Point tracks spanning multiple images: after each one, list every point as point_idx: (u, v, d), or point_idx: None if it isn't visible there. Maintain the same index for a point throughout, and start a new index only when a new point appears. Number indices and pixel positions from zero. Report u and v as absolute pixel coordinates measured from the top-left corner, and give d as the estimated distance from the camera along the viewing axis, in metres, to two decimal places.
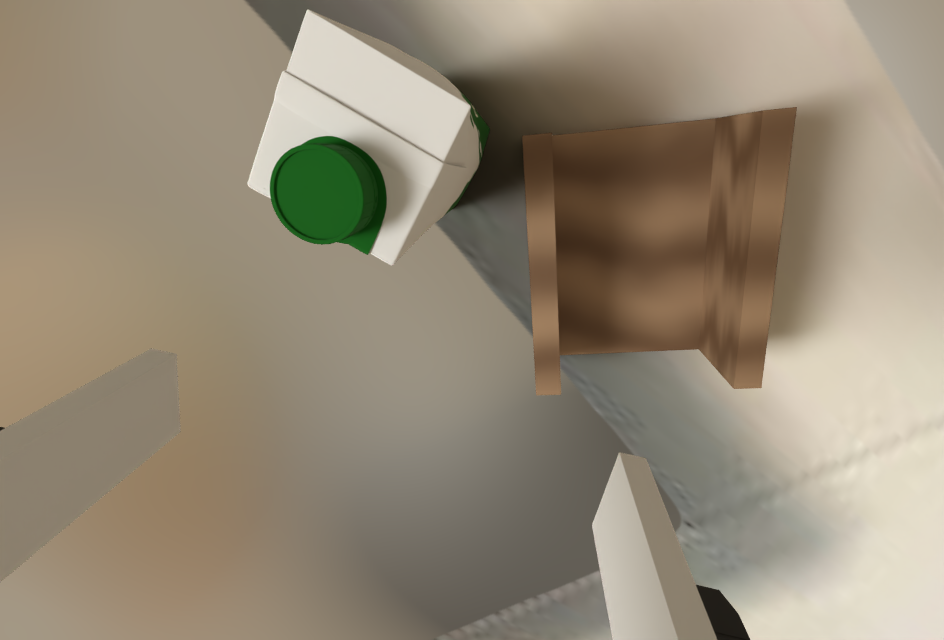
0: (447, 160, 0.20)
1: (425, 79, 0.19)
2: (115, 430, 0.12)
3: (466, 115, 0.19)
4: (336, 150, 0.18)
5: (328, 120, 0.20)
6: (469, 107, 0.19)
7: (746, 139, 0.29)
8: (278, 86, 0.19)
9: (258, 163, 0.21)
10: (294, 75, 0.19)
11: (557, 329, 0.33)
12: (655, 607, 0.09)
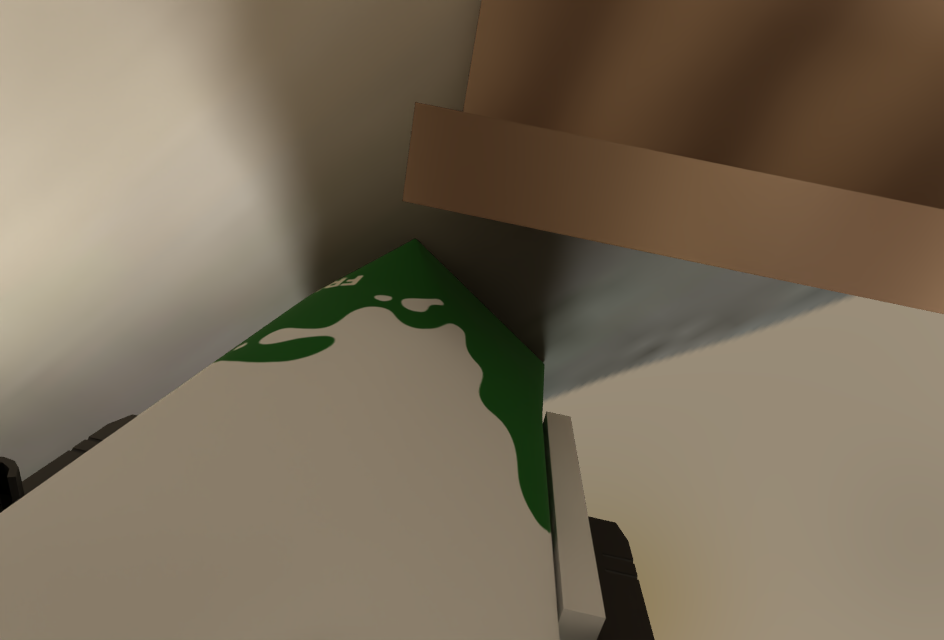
0: None
1: None
2: None
3: None
4: None
5: None
6: None
7: None
8: None
9: None
10: None
11: None
12: None
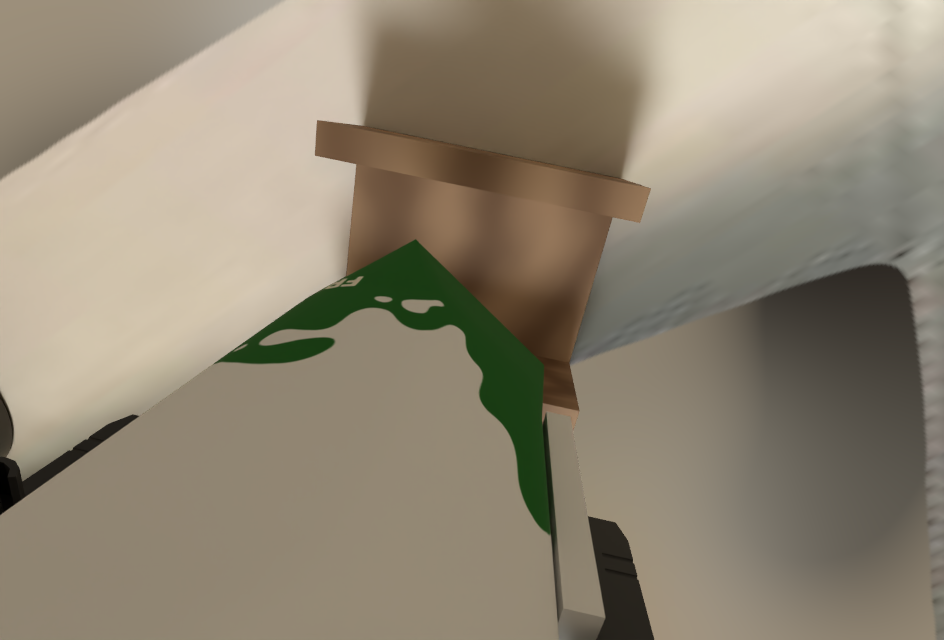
0: None
1: None
2: None
3: None
4: None
5: None
6: None
7: None
8: None
9: None
10: None
11: None
12: None
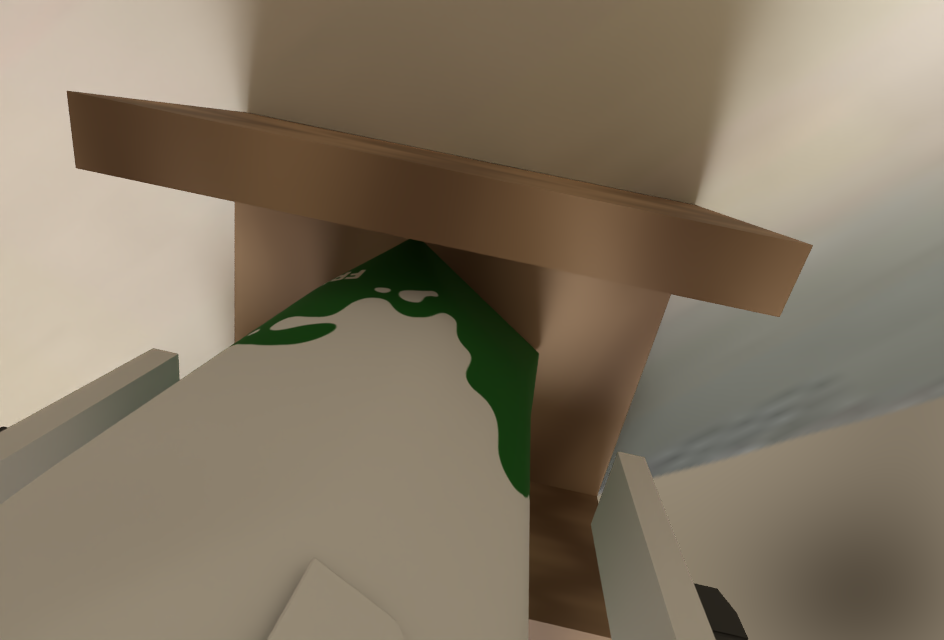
0: None
1: None
2: None
3: None
4: None
5: None
6: None
7: None
8: None
9: None
10: None
11: None
12: (653, 605, 0.09)
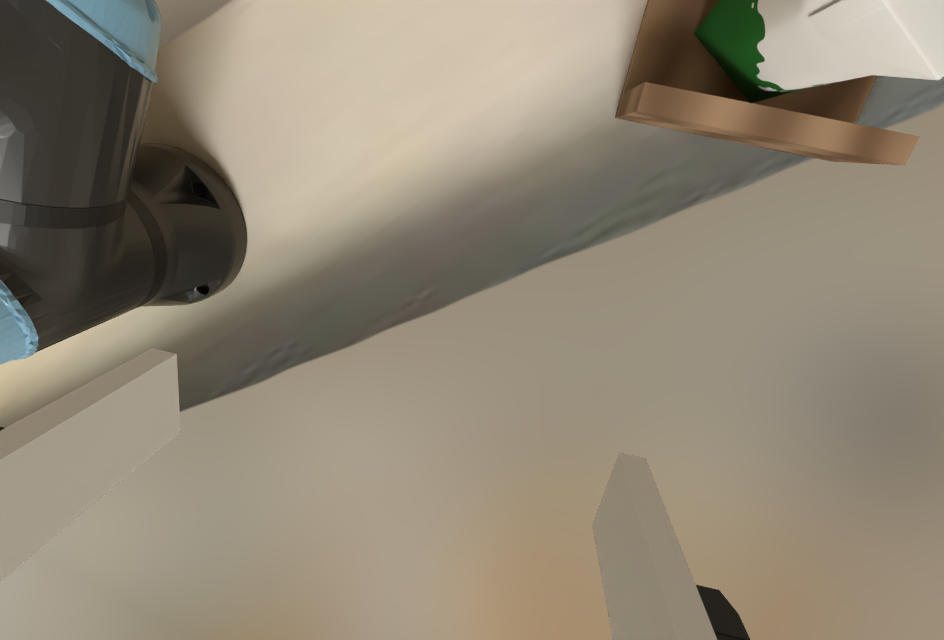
0: None
1: None
2: (115, 430, 0.12)
3: None
4: None
5: None
6: None
7: None
8: None
9: (930, 53, 0.20)
10: None
11: (839, 122, 0.30)
12: (655, 607, 0.09)
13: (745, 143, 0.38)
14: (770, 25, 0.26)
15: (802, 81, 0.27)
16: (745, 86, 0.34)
